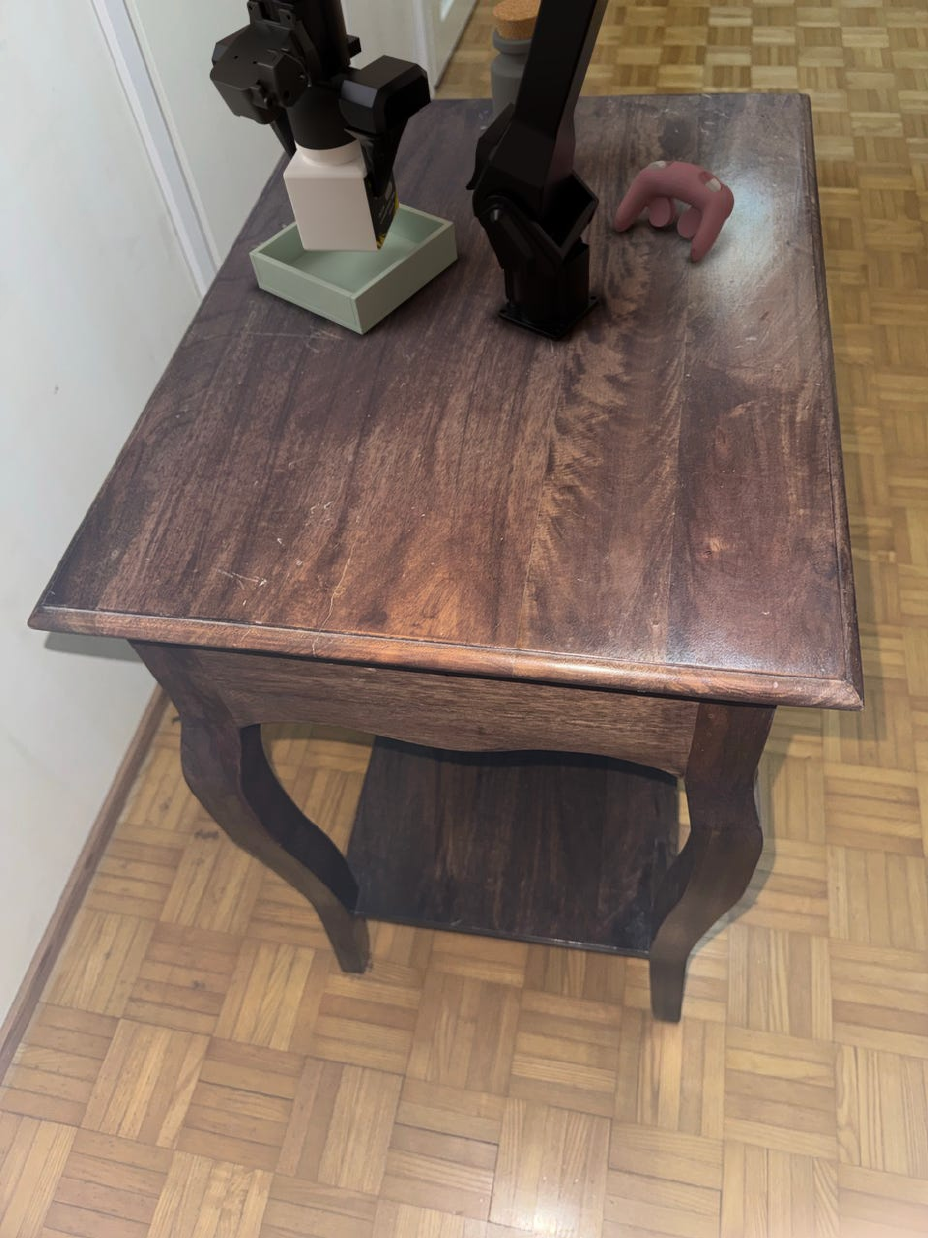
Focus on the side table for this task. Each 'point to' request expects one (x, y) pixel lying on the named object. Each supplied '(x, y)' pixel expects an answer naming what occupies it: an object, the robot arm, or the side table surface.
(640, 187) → the video game controller
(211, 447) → the side table surface
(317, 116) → the medicine bottle
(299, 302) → the tray
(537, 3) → the bottle
